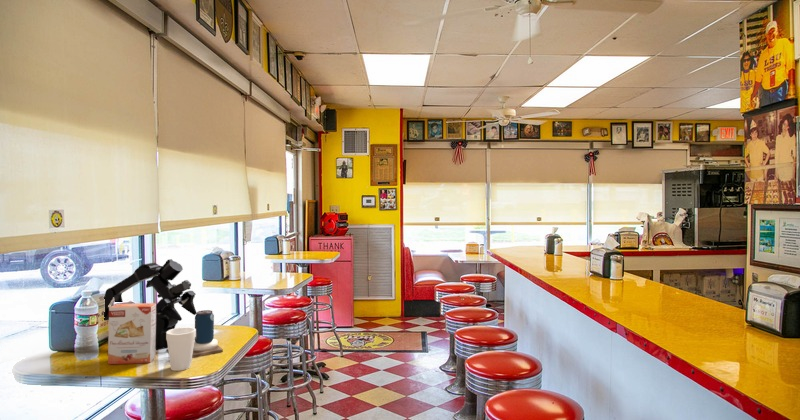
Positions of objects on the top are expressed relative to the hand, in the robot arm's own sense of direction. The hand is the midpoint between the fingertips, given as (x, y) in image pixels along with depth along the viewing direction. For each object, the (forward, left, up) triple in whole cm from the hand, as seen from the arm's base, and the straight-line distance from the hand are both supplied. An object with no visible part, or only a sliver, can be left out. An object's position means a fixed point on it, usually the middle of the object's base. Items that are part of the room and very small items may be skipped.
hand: (188, 317), depth 177 cm
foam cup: (-8, -20, -13) cm, 25 cm away
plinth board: (+1, -4, -13) cm, 13 cm away
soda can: (+5, -5, -10) cm, 12 cm away
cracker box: (-20, -4, -13) cm, 24 cm away
